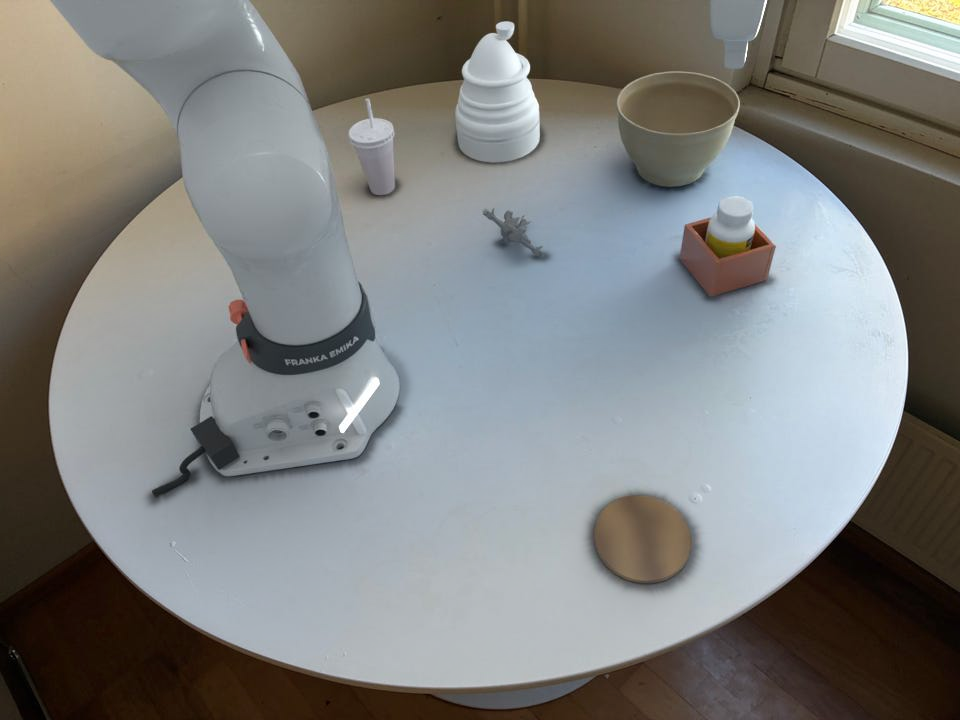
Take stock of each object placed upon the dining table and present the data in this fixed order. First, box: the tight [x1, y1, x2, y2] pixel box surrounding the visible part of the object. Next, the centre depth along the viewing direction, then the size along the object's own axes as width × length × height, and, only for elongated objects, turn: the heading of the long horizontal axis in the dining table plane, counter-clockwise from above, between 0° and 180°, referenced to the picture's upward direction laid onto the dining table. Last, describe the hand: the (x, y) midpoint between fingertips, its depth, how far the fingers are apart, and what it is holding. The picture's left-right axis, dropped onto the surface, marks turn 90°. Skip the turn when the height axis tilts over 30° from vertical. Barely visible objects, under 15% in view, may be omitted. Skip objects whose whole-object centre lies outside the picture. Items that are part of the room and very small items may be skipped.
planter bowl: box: [616, 70, 741, 188], centre depth 107 cm, size 16×16×11 cm
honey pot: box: [454, 21, 541, 163], centre depth 113 cm, size 13×13×18 cm
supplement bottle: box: [705, 195, 756, 259], centre depth 93 cm, size 5×5×10 cm
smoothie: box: [348, 97, 396, 196], centre depth 108 cm, size 6×6×14 cm
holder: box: [679, 216, 777, 298], centre depth 94 cm, size 8×8×6 cm
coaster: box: [593, 494, 692, 584], centre depth 72 cm, size 9×9×1 cm
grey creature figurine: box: [482, 207, 545, 258], centre depth 101 cm, size 10×6×9 cm
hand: (741, 38), depth 72 cm, fingers open, 8 cm apart
